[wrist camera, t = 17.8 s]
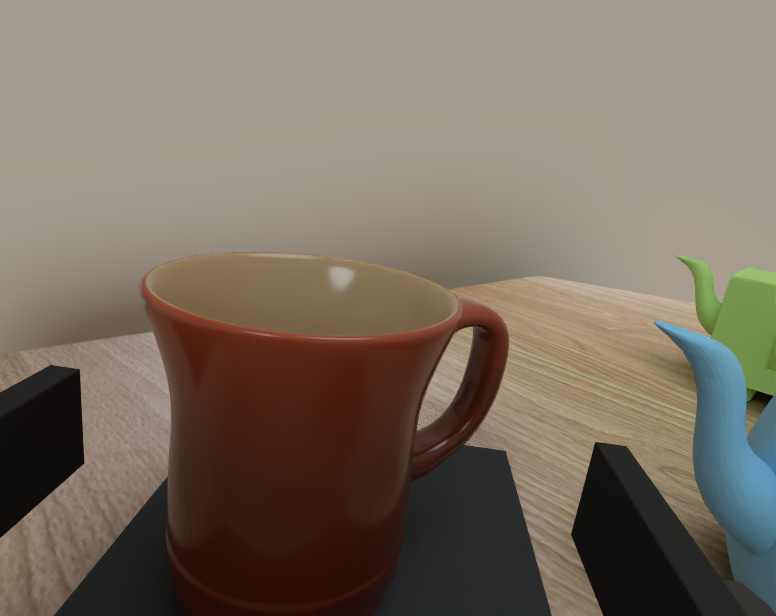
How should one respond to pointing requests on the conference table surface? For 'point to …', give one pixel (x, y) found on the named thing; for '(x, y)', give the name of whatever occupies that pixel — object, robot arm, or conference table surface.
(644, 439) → the conference table surface
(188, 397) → the mug
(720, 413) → the teapot
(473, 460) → the front mat
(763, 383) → the kettle
